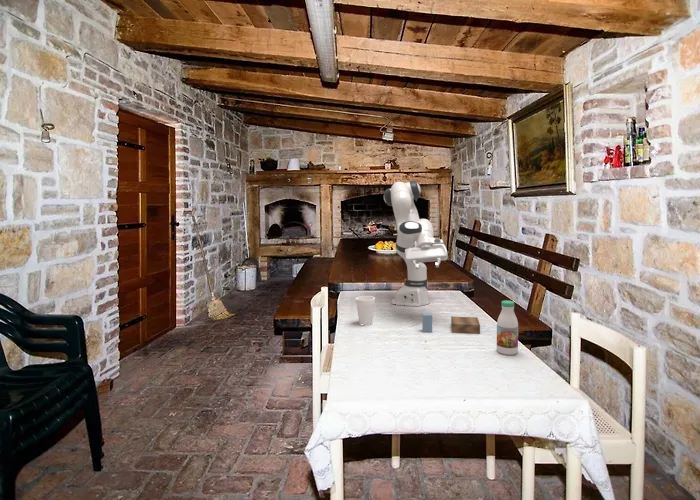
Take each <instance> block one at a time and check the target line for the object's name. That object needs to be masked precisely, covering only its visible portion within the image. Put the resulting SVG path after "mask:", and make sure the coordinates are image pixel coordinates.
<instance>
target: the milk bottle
mask: <svg viewBox="0 0 700 500" xmlns="http://www.w3.org/2000/svg"><path fill="white" fill-rule="evenodd" d="M496 322H497V323H496V351H497V352H498V353H499V354H501V355H505V356H507V355H508V356H512V355H513V356H514V355H517V354H518V352H519V322H518V318H517V316H516V314H515V302H514V301H513V300H501V310H500V314H499V315H498V318H497V321H496Z"/></svg>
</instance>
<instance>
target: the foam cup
mask: <svg viewBox="0 0 700 500" xmlns="http://www.w3.org/2000/svg"><path fill="white" fill-rule="evenodd" d="M355 304H356V310H357V311H356V312H357V317H358V321H359V325H360V324H363V325H369V324H372V325H373V319H374V311H375V310H374V309H375V304H376V297H375V296H371V295H360V296H356V297H355ZM363 325H362V326H363ZM369 326H370V325H369Z"/></svg>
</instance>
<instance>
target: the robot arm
mask: <svg viewBox="0 0 700 500" xmlns="http://www.w3.org/2000/svg"><path fill="white" fill-rule="evenodd" d="M421 191H422V190H421V186H420V184H419V183H418V182H417V181H416V180H410V181H408V182H403V181H396V182H394V183H393V184H392V185H391V188H387V189H385V190H384V192H383V200H384V202H385V204H386V205H387V206H389V207H392V211H393V213H394V214H393V215H394V219H395V225H396V233H397V237H396V242H395V251H396V253H397V255H399V257H401V258H402V259H403V260H404V262H405V264H406V267H407V268H406V269H407V270H406V271H407V278H404V279H403V283H404V285H403V286H402V287H400V288H399V289H398V290H397V291H396V292H395V295H394V298H392V299H391V303H390V304H392V305H393V304H396V305H395V306H404V305H405V307H416V308H417V307H421V306H427V305H429V304H430V302H431V301H430V298H429V292H428V288H429V285H428V284H429V281H428V276H427V273H428V272H427V270H428V268H427V266H426V264H425V263H427V262H428V263H429V262H430V263H431V262H435V268H440V264H441V261H447V260H448V259H449V255H448V250H447V246H446V244H445V243H444V242H445V241H444V240H443V239H442V238H441V239H440V238H435V237H434V234H435V233H434V228H433V227H434V226H433V224H432V222H431V221H430V220H429V219H426V218H420V216H419V212H418V209H417V207H416V205H415V202H417V201H418V199H419V198H420V196H421ZM414 200H415V202H414Z"/></svg>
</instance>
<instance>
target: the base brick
mask: <svg viewBox="0 0 700 500" xmlns="http://www.w3.org/2000/svg"><path fill="white" fill-rule="evenodd" d="M450 320H451V321H450V325H451V327H450V328H451V333H453V334H458V333H459V334H477V335H478V334H479V335H481V323H480V321H479V318H478V317H477V316H450Z"/></svg>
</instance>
